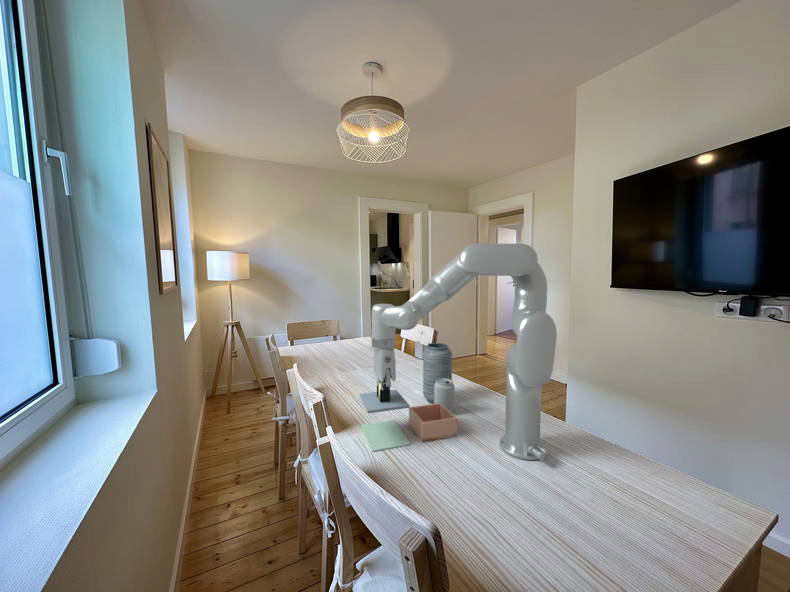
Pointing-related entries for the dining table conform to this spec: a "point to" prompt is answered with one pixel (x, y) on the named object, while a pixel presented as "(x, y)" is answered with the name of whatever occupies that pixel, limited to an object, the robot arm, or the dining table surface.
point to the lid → (375, 405)
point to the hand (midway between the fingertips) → (383, 398)
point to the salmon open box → (432, 422)
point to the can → (444, 393)
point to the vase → (435, 367)
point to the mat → (384, 435)
